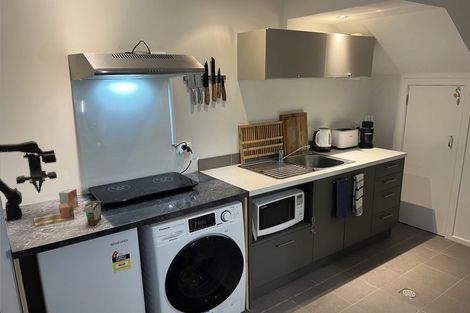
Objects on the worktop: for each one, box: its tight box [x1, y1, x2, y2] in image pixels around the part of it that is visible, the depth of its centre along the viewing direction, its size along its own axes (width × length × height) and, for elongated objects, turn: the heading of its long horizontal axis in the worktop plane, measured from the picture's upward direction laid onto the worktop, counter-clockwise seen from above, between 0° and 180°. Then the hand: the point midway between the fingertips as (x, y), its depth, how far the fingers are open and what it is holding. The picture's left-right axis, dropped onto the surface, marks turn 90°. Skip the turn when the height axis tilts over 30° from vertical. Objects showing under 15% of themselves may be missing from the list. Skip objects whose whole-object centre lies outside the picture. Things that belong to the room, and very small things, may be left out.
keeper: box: [58, 203, 70, 218], centre depth 180 cm, size 4×6×6 cm, turn 32°
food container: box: [83, 200, 102, 227], centre depth 173 cm, size 12×6×10 cm, turn 5°
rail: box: [33, 202, 76, 228], centre depth 178 cm, size 18×8×7 cm, turn 122°
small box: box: [58, 188, 79, 209], centre depth 195 cm, size 8×6×10 cm
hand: (39, 192), depth 186 cm, fingers closed
